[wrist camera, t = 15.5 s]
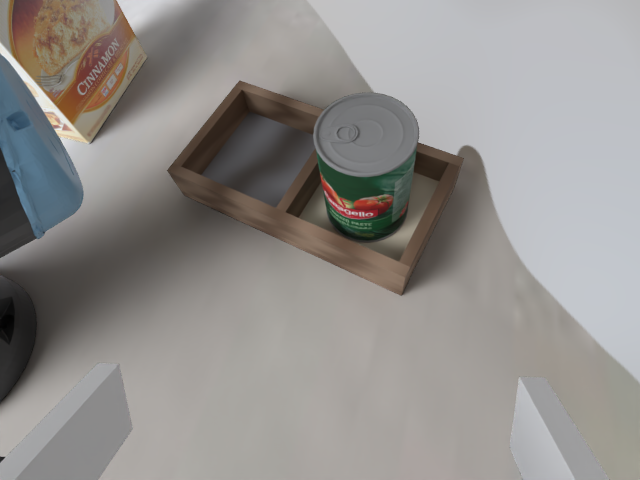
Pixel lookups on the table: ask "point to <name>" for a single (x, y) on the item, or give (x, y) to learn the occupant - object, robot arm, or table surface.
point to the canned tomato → (366, 164)
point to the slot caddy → (302, 184)
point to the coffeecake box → (71, 58)
